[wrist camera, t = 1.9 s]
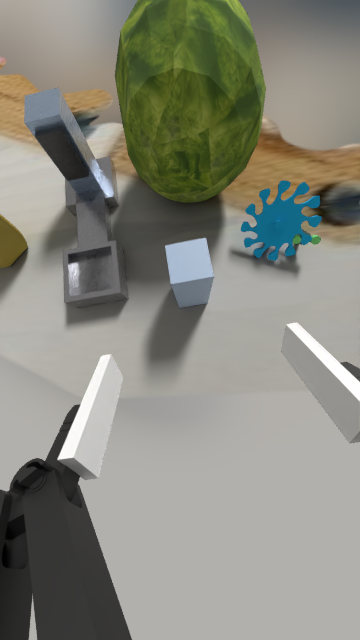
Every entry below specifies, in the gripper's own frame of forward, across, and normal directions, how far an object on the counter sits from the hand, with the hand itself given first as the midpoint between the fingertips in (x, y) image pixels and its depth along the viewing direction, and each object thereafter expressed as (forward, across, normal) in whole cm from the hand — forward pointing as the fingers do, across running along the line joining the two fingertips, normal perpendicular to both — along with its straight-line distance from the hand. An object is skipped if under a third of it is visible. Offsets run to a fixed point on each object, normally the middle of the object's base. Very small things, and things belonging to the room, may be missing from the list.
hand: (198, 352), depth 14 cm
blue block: (+16, +1, -3) cm, 17 cm away
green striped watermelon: (+33, +5, +14) cm, 36 cm away
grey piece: (+26, -14, +7) cm, 31 cm away
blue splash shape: (+21, +15, +2) cm, 26 cm away
